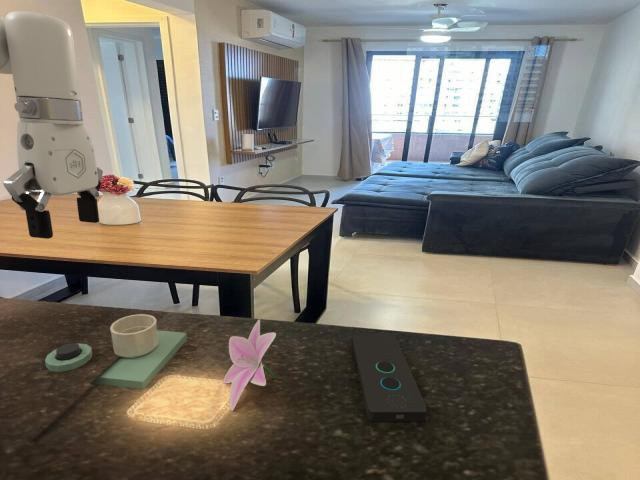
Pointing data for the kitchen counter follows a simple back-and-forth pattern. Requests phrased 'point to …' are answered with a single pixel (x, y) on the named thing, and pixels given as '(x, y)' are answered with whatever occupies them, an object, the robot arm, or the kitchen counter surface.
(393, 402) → the smart home device
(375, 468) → the kitchen counter surface
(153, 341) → the bowl
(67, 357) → the dark grey puck
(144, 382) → the mint green pieces
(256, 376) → the lily
